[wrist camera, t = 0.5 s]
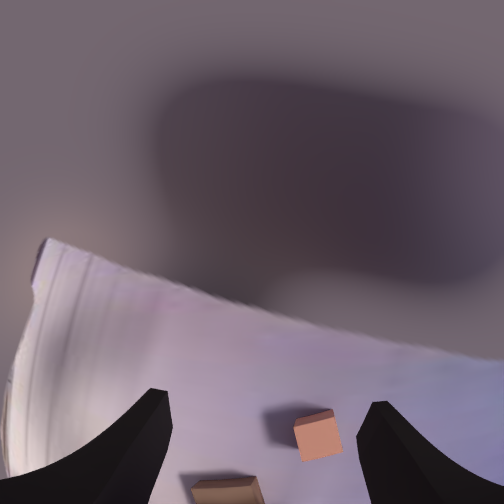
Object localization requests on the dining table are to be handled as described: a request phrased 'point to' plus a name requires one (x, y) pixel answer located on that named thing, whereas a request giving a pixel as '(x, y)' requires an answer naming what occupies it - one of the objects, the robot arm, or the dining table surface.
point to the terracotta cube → (317, 436)
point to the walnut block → (228, 491)
